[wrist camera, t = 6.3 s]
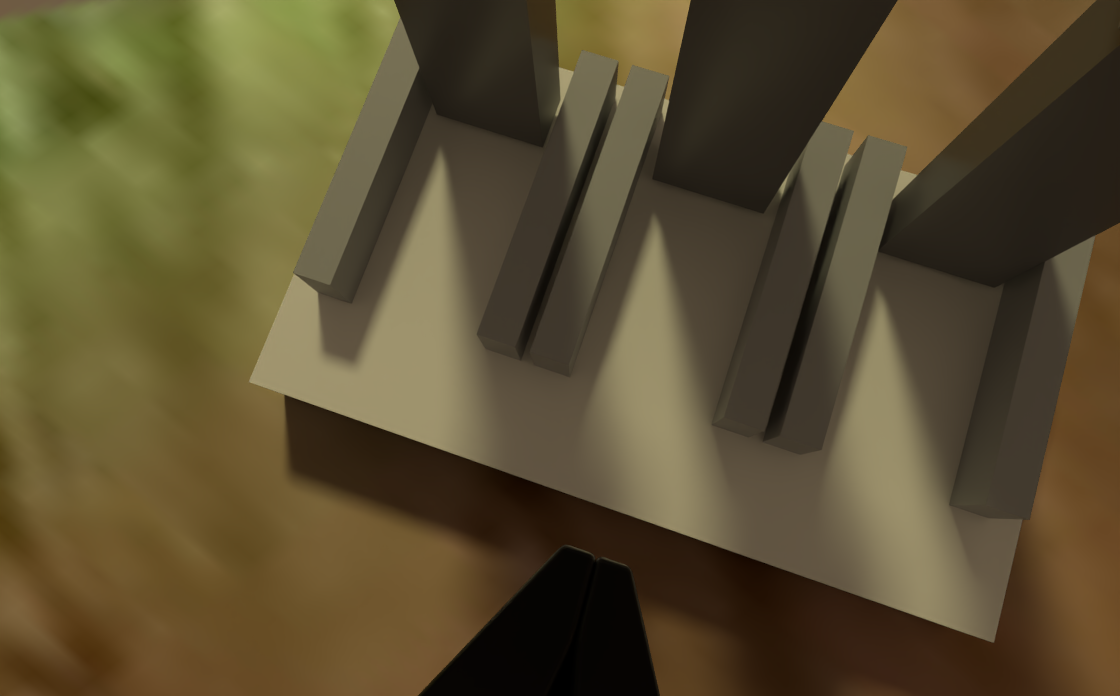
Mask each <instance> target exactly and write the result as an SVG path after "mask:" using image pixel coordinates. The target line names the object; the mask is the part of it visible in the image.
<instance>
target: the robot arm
mask: <svg viewBox="0 0 1120 696" xmlns="http://www.w3.org/2000/svg"><path fill="white" fill-rule="evenodd" d="M418 696H660V694H659V689H658V685H657V680H656V676H655V671H654V667H653V662H652V658H651V653H650V649H649V644H648V640H647V635H646V631H645V627H644V622H643V618H642V613H641V609H640V604H639V600H638V595H637V591H636V586H635V582H634V577H633V573H632V571H631V569H630V568H629V567H628V566H627V565H625V564H622V563H619V562H616V561H613V560H610V559H607V558H605V557H600V558H598V559H597V560H596V561H595V556H594V555H593V554H592V553H590V552H587V551H585V550H582V549H579V548H576V547H573V546H570V545H563V546H562V547H560V548H559V549H558V550H557V551H556V552H555V553H554V554H553V555H552V556H551V557H550V558H549V559H548V560H547V561H546V562H545V564H544V565H543V566H542V567H541V568H540V569H539V570H538V571H537V572H536V573H535V574H534V575H533V576H532V577H531V578H530V579H529V580H528V581H527V582H526V583H525V584H524V585H523V586H522V588H521V589H520V590H519V591H518V592H517V593H516V594H515V595H514V596H513V597H512V598H511V599H510V600H509V601H508V602H507V603H506V604H505V605H504V606H503V607H502V608H501V609H500V610H499V612H498V613H497V614H496V615H495V616H494V617H493V618H492V619H491V620H490V621H489V622H488V623H487V624H486V625H485V626H484V627H483V628H482V629H481V630H480V631H479V632H478V633H477V634H476V636H475V637H474V638H473V639H472V640H471V641H470V642H469V643H468V644H467V645H466V646H465V647H464V648H463V649H462V650H461V651H460V652H459V653H458V654H457V655H456V656H455V657H454V658H453V660H452V661H451V662H450V663H449V664H448V665H447V666H446V667H445V668H444V669H443V670H442V671H441V672H440V673H439V674H438V675H437V676H436V677H435V678H434V679H433V680H432V681H431V682H430V683H429V685H428V686H427V687H426V688H425V689H424V690H423V691H422V692H421V693H420V694H419V695H418Z"/></svg>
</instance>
